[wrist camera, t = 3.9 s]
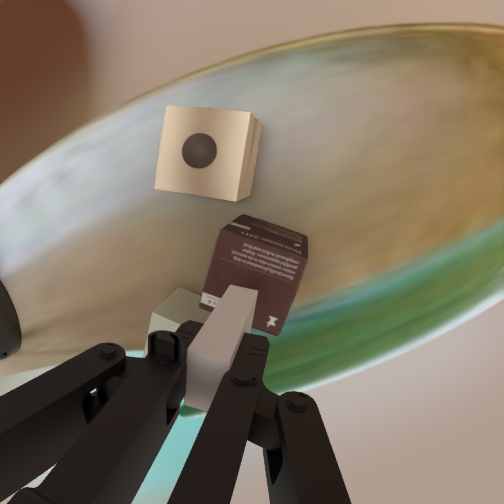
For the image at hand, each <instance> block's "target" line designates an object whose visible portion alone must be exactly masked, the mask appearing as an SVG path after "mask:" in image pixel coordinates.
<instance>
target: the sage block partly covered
mask: <svg viewBox="0 0 504 504" xmlns="http://www.w3.org/2000/svg"><path fill="white" fill-rule="evenodd" d="M200 299H201V296H200V295H198V294H195V293H193V292H191V291H188V290H186V289H183V288H181V287H178V288H177V289H176V290H175V291H174V292H173V293H172V294H171V295H170V296H169V297H168V298H166V299H165V300H164V301H163V302H162V303H161V304H160V305H159V306H158V307H157V308H156V309H155V310H154V311H153V312H152V315H151V320H150V325H149V330H148V334H150V333H151V332H154V331H158V330H167V331H172V332H175V331H177V329H178V328H179V326H180V325H181V324H182V323H184V322H186V321H189V320H192V321H196V322H200V323H205V322H206V320H207V319H208V317H209V316H210V314H211V312H208V311H206V310H203V309H200V308H199V302H200ZM147 354H148V335H147V340H146V345H145V350H144V355H143V358H145V356H146V355H147Z"/></svg>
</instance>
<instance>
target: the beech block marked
mask: <svg viewBox="0 0 504 504" xmlns="http://www.w3.org/2000/svg"><path fill="white" fill-rule="evenodd" d="M261 131H262V125H261V124H260V123H259V121H258V120H257V119H256V118H255V117H254V116H253V114H252V113H251V112H243V111H234V110H224V109H213V108H200V107H184V106H166V112H165V117H164V123H163V129H162V135H161V142H160V148H159V155H158V163H157V170H156V178H155V186H154V189H159V190H166V191H173V192H180V193H186V194H193V195H199V196H205V197H211V198H217V199H223V200H229V201H235V202H237V201H239V200H241V199H244V198H246V197H249V196H251V191H252V185H253V179H254V173H255V167H256V161H257V154H258V148H259V142H260V136H261Z"/></svg>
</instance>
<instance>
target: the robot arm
mask: <svg viewBox="0 0 504 504" xmlns="http://www.w3.org/2000/svg"><path fill="white" fill-rule="evenodd" d="M257 294H258V290H253V289H248V288H243V287H239V286H234V285H230V286H229V287H228V289H227V290H226V292H225V293H224V295H223V296H222V298H221V299H220V301H219V302H218V304H217V305H216V307H215V308H214V310H213V311H212V313H211V314H210V316H209V317H208V319H207V320H206V322H205V323H200V322H196V321H192V320H189V321H186V322H184V323H182V324H181V325H180V326H179V328H178V329H177V331H175V332H172V331H167V330H158V331H154V332H151V333H150V334H148V354H147V355H146V356H145V358H136V357H128V356H126V353H125V350H124V349H123V348H122V347H121V346H120V345H117V344H115V343H101V344H98V345H96V346H94V347H92V348H90V349H88V350H86V351H85V352H83V353H81V354H79V355H77V356H75V357H73V358H71V359H70V360H68V361H66V362H64V363H62V364H60V365H58V366H57V367H55V368H53V369H51V370H49V371H47V372H45V373H43V374H42V375H40V376H38V377H36V378H34V379H32V380H30V381H28V382H27V383H25V384H23V385H21V386H19V387H17V388H15V389H14V390H11V391H10V392H8V393H6V394H4V395H2V396H0V502H2V501H3V500H5V499H6V498H8V497H9V496H11V495H12V494H13V493H15V492H17V491H18V490H19V491H18V492H17V493H15V495H14V496H13V497H12V498H11V499H10V501H9V502H8V503H7V504H131V503H132V501H133V499H134V497H135V495H136V494H137V492H138V490H139V488H140V486H141V484H142V482H143V481H144V479H145V477H146V475H147V473H148V471H149V469H150V468H151V466H152V464H153V462H154V460H155V458H156V456H157V455H158V453H159V451H160V449H161V447H162V445H163V443H164V441H165V439H166V437H167V436H168V434H169V432H170V430H171V428H172V426H173V424H174V423H175V420H176V419H177V417H178V415H179V412H180V403H181V401H182V399H183V398H184V405H186V406H190V407H193V408H197V409H200V410H204V411H207V414H206V417H205V419H204V421H203V424H202V426H201V429H200V431H199V433H198V435H197V438H196V440H195V442H194V444H193V447H192V449H191V451H190V454H189V456H188V458H187V460H186V463H185V465H184V467H183V469H182V471H181V474H180V476H179V478H178V480H177V483H176V485H175V487H174V489H173V492H172V494H171V496H170V498H169V501H168V503H167V504H230V501H231V497H232V494H233V490H234V487H235V483H236V479H237V476H238V472H239V468H240V465H241V461H242V457H243V453H244V450H245V446H246V442H247V440H248V441H250V442H252V443H254V444H256V445H258V446H260V447H262V448H263V456H264V463H265V471H266V478H267V485H268V492H269V498H270V504H351V501H350V498H349V495H348V492H347V490H346V487H345V484H344V481H343V478H342V475H341V472H340V469H339V466H338V463H337V461H336V458H335V455H334V452H333V449H332V446H331V444H330V441H329V438H328V435H327V432H326V429H325V426H324V423H323V421H322V418H321V415H320V412H319V409H318V407H317V404H316V402H315V401H314V399H313V398H311V397H310V396H309V395H307V394H304V393H302V392H296V391H291V392H286V393H284V394H281V396H279V395H277V394H275V393H273V392H271V391H270V390H268V389H267V388H266V387H265V385H264V384H263V381H262V377H263V372H264V368H265V364H266V359H267V355H268V350H269V346H270V343H269V341H268V339H267V337H264V336H259V335H254V334H250V332H251V327H252V322H253V316H254V311H255V305H256V300H257ZM20 340H21V337H20V328H19V323H18V320H17V316H16V313H15V310H14V308H13V305H12V303H11V300H10V298H9V296H8V294H7V292H6V290H5V289H4V287H3V285H2V284H1V282H0V360H1V359H5V358H8V357H10V356H11V355H12V354H14V353H15V352H16V351H17V350H18V349H19V347H20ZM95 388H96V391H95V392H94V393H90V392H91V391H92V390H94V389H95ZM55 464H56V465H55ZM54 465H55V467H54V468H53V469H52V470H51V472H50V473H49V474H48V476H47V477H46V478H45V479H44V480H43V482H42V483H41V484H40V485H39V486H38V487H36V488H29V487H25V488H23V489H21V488H22V487H24V486H25V485H27V484H28V483H30V482H31V481H32V480H34V479H35V478H37V477H38V476H40V475H41V474H43V473H44V472H45V471H47V470H48V469H49V468H51V467H52V466H54Z"/></svg>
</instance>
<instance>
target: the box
mask: <svg viewBox="0 0 504 504" xmlns="http://www.w3.org/2000/svg"><path fill="white" fill-rule="evenodd" d="M307 261H308V241H307V237H306V236H305V235H302V234H299V233H297V232H294V231H291V230H288V229H285V228H283V227H280V226H278V225H274V224H271V223H268V222H266V221H262V220H259V219H256V218H252V217H250V216H247V215H241V216H239V217H238V218H236V219H235V220H233V221H232V222H231V223H229V224H228V225H227V226H225V227H224V228H223V229H220V231H219V235H218V238H217V241H216V244H215V248H214V252H213V256H212V259H211V263H210V266H209V270H208V274H207V277H206V281H205V285H204V288H203V292H202V295H201V299H200V302H199V308H200V309H203V310H206V311H208V312H211V313H212V311H213V310H214V308H215V307H216V305H217V304H218V302H219V301H220V299H221V298H222V296H223V295H224V293H225V292H226V290H227V289H228V287H229V286H230V285H234V286H239V287H243V288H248V289H253V290H258V294H257V300H256V305H255V311H254V316H253V322H252V328H255V329H258V330H261V331H263V332H266V333H269V334H272V335H275V336H279V334H280V333H281V330H282V327H283V325H284V322H285V320H286V317H287V315H288V312H289V309H290V307H291V304H292V302H293V300H294V297H295V294H296V292H297V289H298V286H299V283H300V280H301V277H302V275H303V272H304V269H305V266H306V264H307Z"/></svg>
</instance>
